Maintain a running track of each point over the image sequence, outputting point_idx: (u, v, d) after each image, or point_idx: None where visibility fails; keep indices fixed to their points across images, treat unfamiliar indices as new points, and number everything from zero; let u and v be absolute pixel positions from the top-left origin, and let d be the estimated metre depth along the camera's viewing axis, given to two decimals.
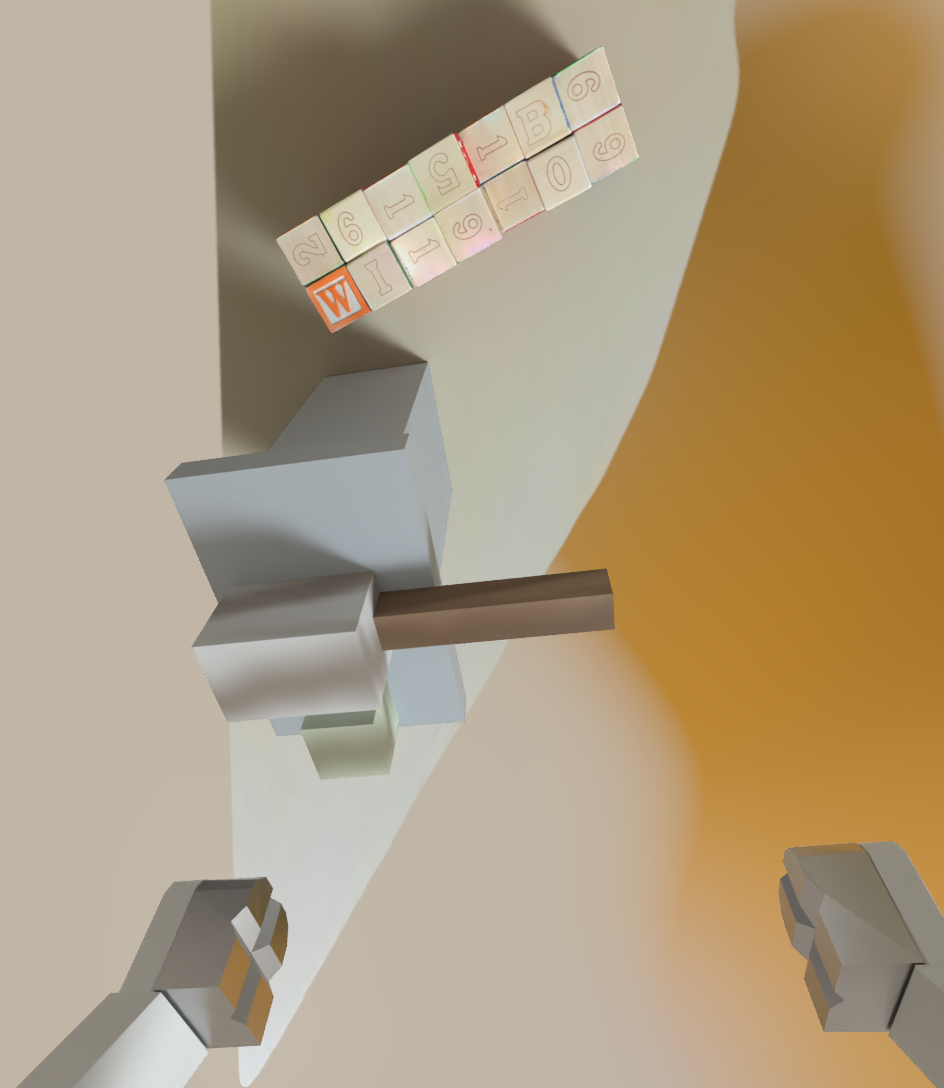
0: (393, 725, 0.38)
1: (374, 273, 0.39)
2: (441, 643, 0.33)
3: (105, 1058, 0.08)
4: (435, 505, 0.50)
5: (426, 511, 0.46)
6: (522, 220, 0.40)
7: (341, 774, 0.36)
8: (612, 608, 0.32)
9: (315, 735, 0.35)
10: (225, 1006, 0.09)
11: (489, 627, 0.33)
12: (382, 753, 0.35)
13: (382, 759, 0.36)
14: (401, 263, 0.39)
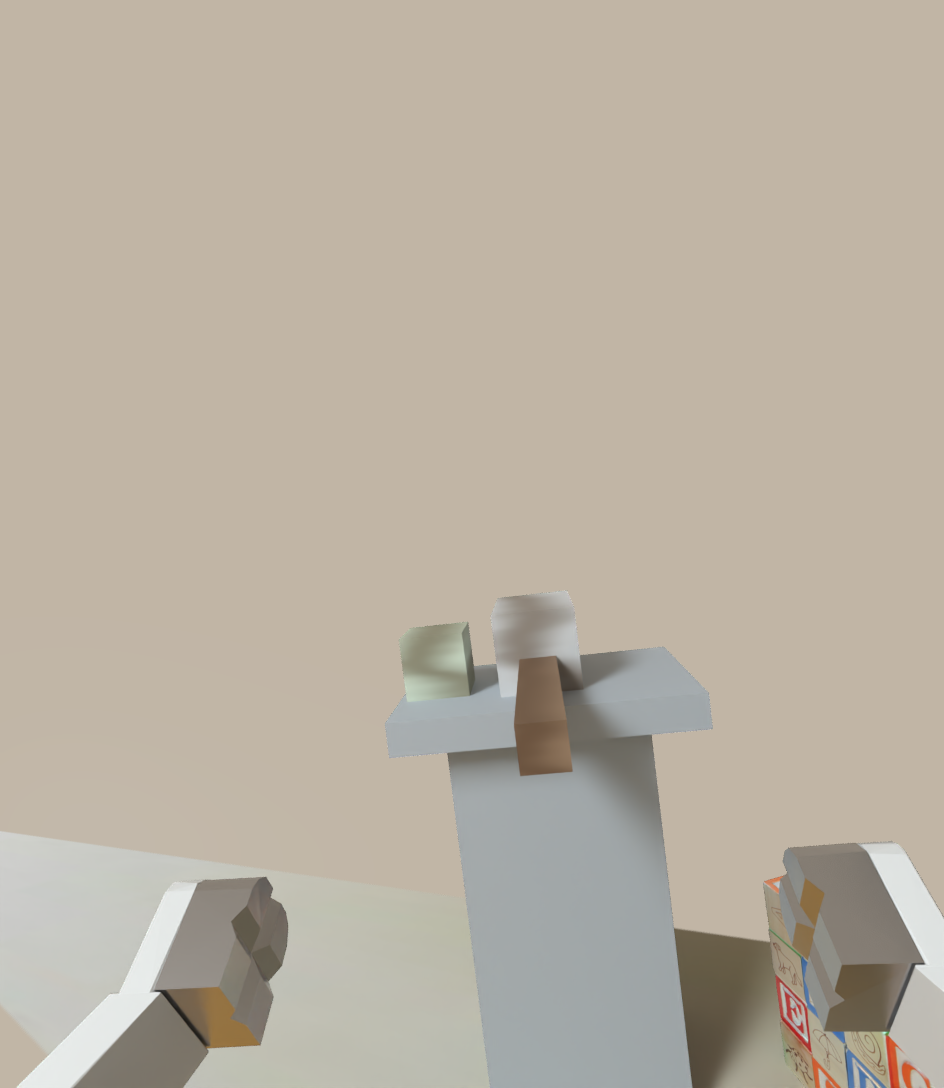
0: (417, 682, 0.41)
1: None
2: (520, 671, 0.36)
3: (105, 1058, 0.08)
4: (535, 964, 0.39)
5: (554, 899, 0.38)
6: None
7: (411, 631, 0.43)
8: (545, 721, 0.27)
9: (459, 624, 0.43)
10: (225, 1006, 0.09)
11: (533, 683, 0.33)
12: (425, 636, 0.40)
13: (418, 637, 0.41)
14: None
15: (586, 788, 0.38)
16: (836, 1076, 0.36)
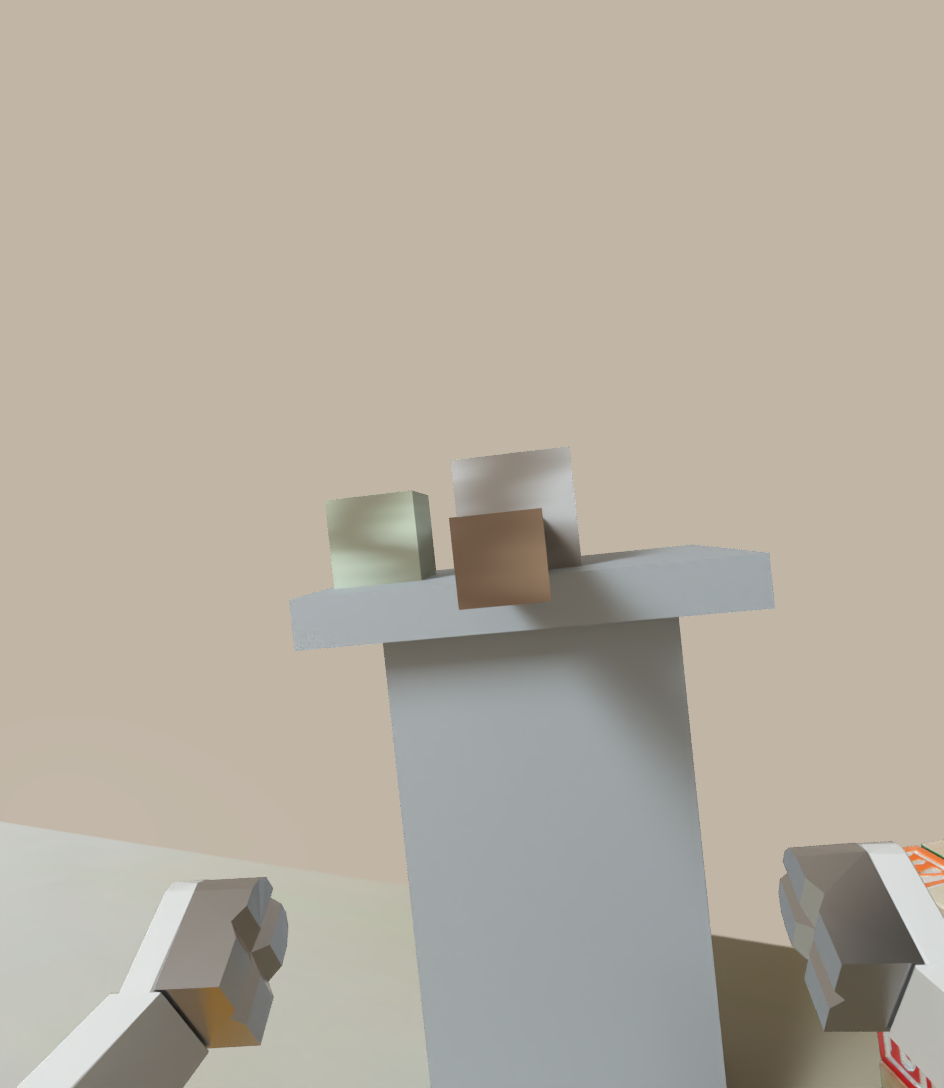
0: (349, 562, 0.29)
1: None
2: None
3: (105, 1058, 0.08)
4: (505, 966, 0.27)
5: (534, 869, 0.26)
6: None
7: None
8: (504, 512, 0.15)
9: None
10: (225, 1006, 0.09)
11: None
12: (362, 497, 0.29)
13: None
14: None
15: (583, 705, 0.26)
16: None
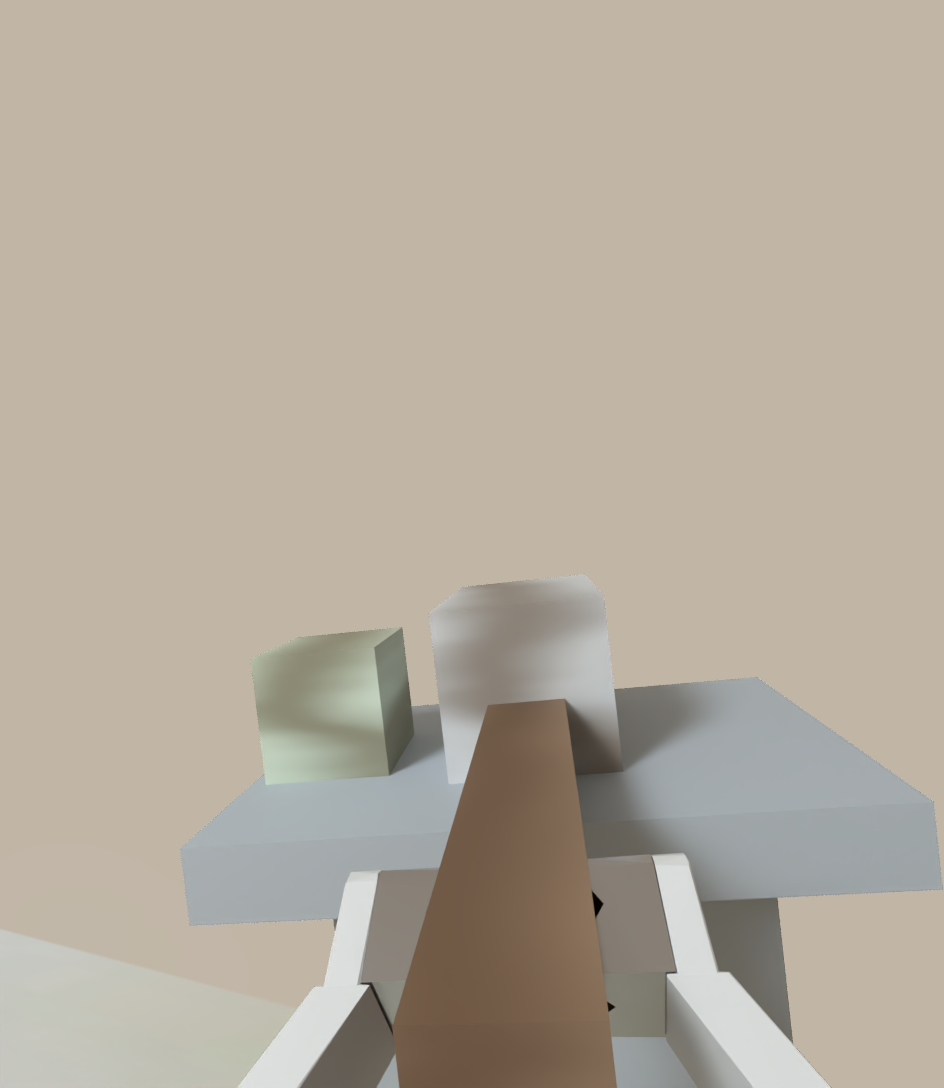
0: (286, 746, 0.20)
1: None
2: (483, 740, 0.15)
3: (326, 1053, 0.08)
4: None
5: None
6: None
7: (292, 642, 0.23)
8: (519, 1019, 0.07)
9: (384, 631, 0.23)
10: None
11: (506, 782, 0.13)
12: (303, 655, 0.20)
13: (290, 654, 0.20)
14: None
15: None
16: None
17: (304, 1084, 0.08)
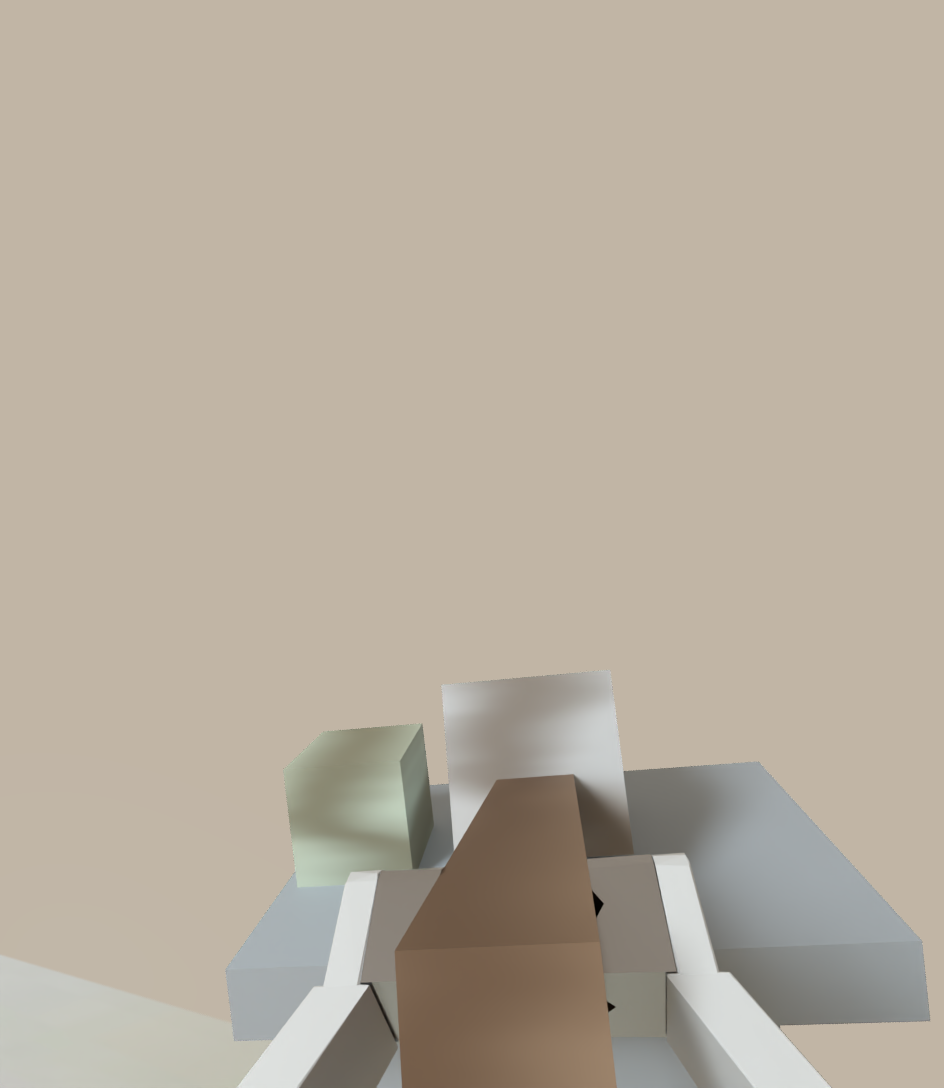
0: (316, 852, 0.22)
1: None
2: (491, 799, 0.16)
3: (326, 1053, 0.08)
4: None
5: None
6: None
7: (319, 742, 0.24)
8: (515, 943, 0.07)
9: (406, 730, 0.25)
10: None
11: (511, 821, 0.13)
12: (332, 766, 0.21)
13: (320, 765, 0.22)
14: None
15: None
16: None
17: (303, 1084, 0.08)
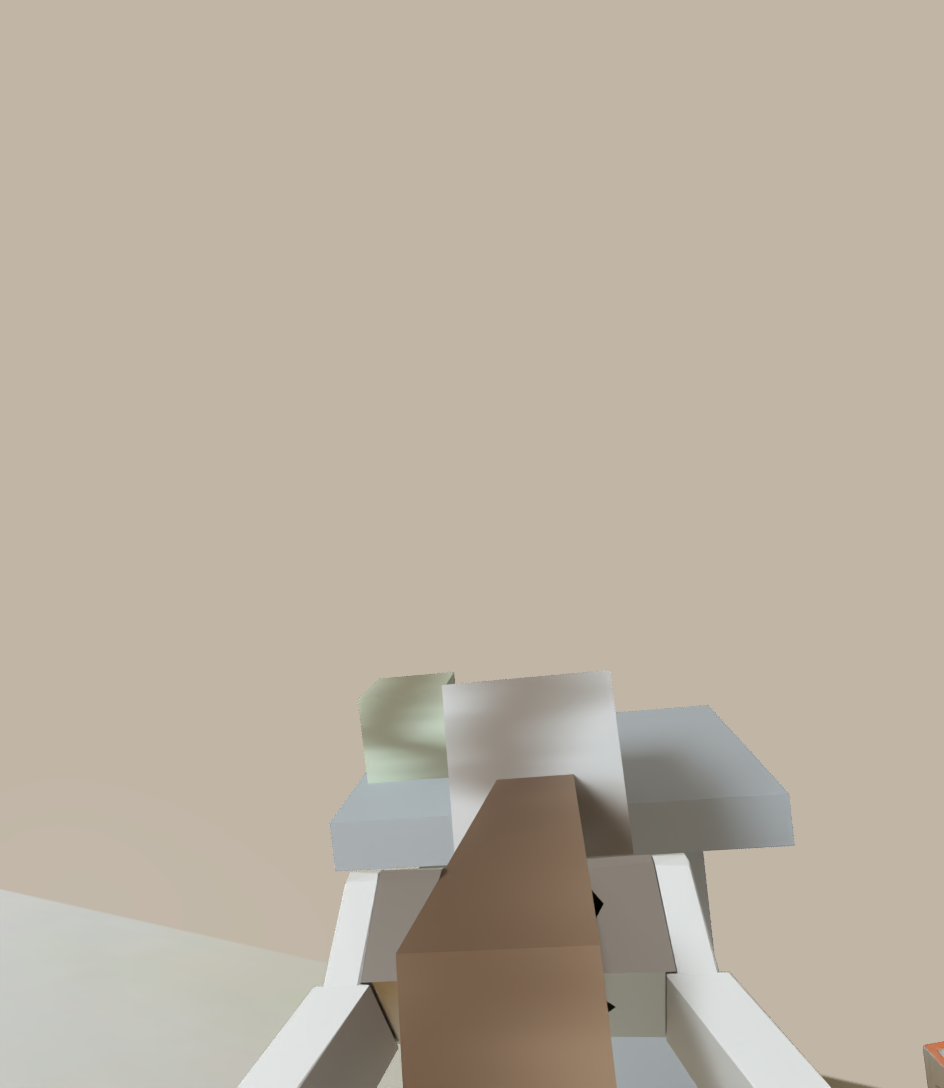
0: (381, 758, 0.30)
1: None
2: (491, 799, 0.16)
3: (326, 1053, 0.08)
4: None
5: None
6: None
7: (378, 684, 0.33)
8: (516, 947, 0.07)
9: (442, 675, 0.33)
10: None
11: (512, 822, 0.13)
12: (393, 696, 0.30)
13: (384, 696, 0.30)
14: None
15: None
16: None
17: (304, 1084, 0.08)
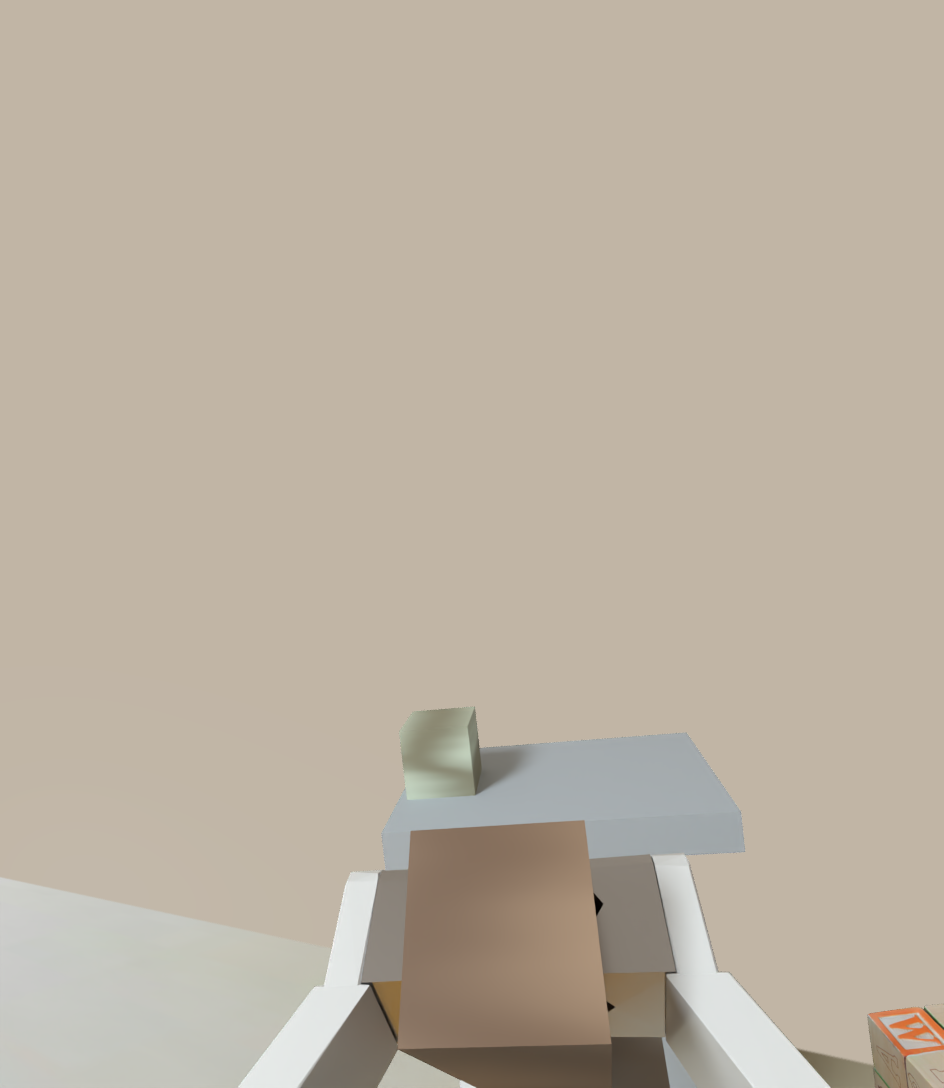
0: (418, 779, 0.37)
1: None
2: None
3: (326, 1053, 0.08)
4: None
5: None
6: None
7: (413, 717, 0.40)
8: (513, 826, 0.08)
9: (465, 710, 0.40)
10: None
11: None
12: (428, 729, 0.37)
13: (420, 729, 0.37)
14: None
15: None
16: None
17: (304, 1084, 0.08)
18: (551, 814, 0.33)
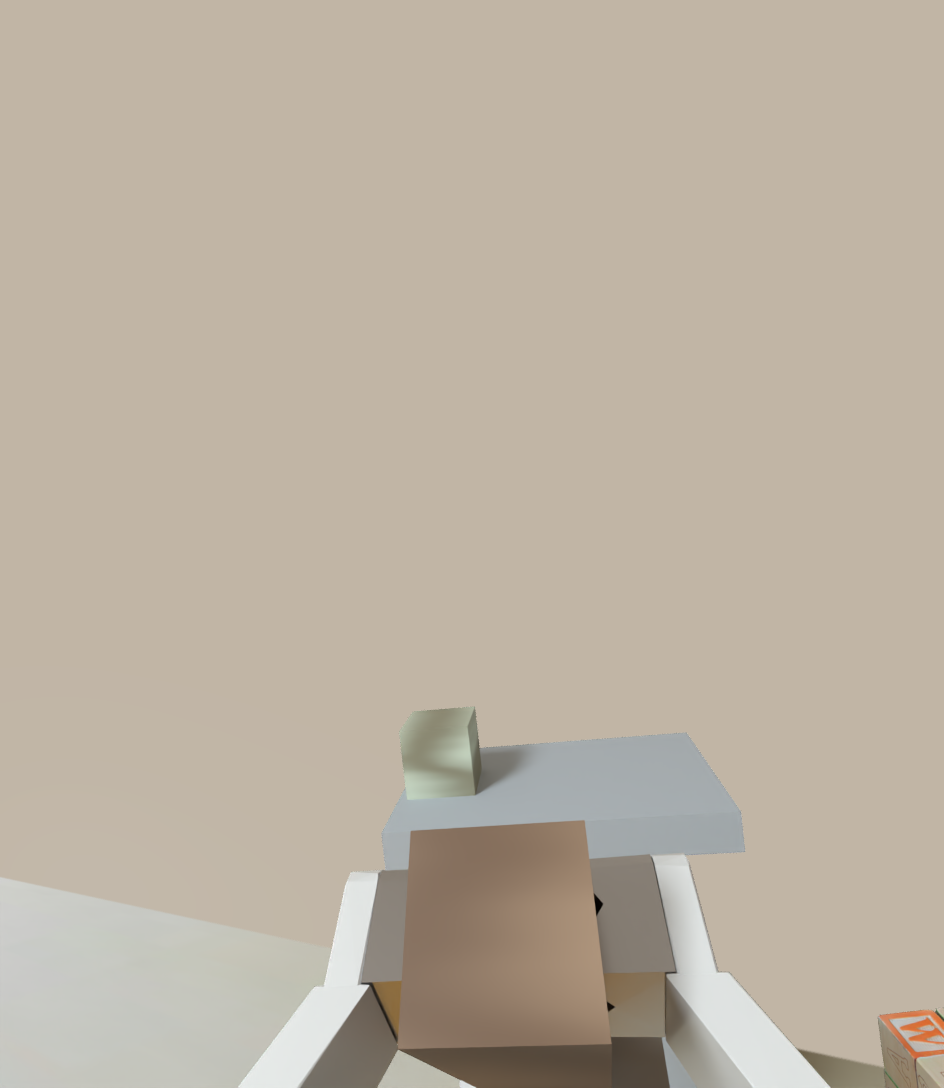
0: (418, 779, 0.37)
1: None
2: None
3: (326, 1053, 0.08)
4: None
5: None
6: None
7: (413, 717, 0.40)
8: (513, 825, 0.08)
9: (465, 710, 0.40)
10: None
11: None
12: (428, 729, 0.37)
13: (420, 729, 0.37)
14: None
15: None
16: None
17: (304, 1084, 0.08)
18: (551, 814, 0.33)
